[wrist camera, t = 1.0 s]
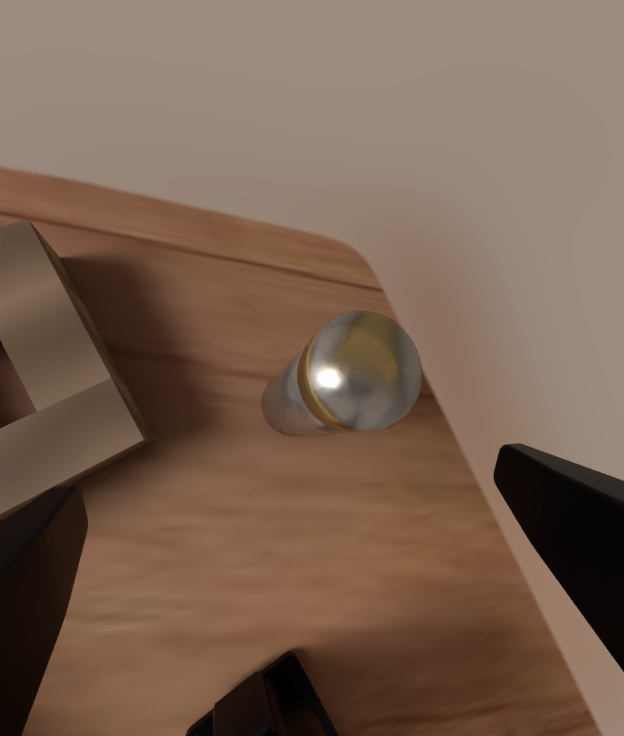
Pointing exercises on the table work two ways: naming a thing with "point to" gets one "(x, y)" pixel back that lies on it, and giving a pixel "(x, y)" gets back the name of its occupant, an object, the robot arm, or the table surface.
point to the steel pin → (346, 379)
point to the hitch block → (56, 377)
